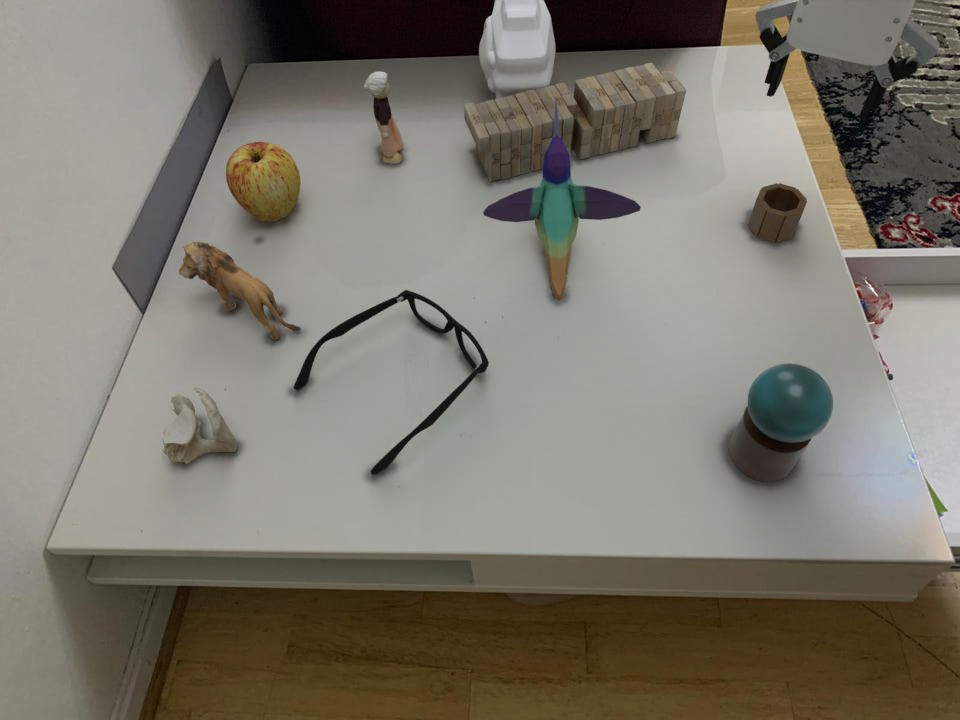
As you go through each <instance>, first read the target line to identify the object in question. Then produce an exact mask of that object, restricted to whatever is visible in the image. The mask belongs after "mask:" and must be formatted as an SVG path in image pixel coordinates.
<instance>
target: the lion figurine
mask: <svg viewBox="0 0 960 720" xmlns="http://www.w3.org/2000/svg"><path fill="white" fill-rule="evenodd" d="M182 248H183V250H184V254H185V256H184V257H183V259H182V261H183V263H182V265H181V267H180V268H179V269H178V274H179V275H180V276H182V277H184V278H186V279H188V280H193V279H194V278H196V277H198V279H199V280H201V281H205V282H206V284H207V285H208V286H210V287H212V288H214V289H215V290H216V292H217V293H218V295H219V297H220V298H221V299H222V300H223V301H224V302H225V303H224V306H223V309H224V311H225V312H231V311H233V310H235V309H236V307H237V305H236V301H235V300H234V299H233V298H232V297H231V295H233V296H235V297H236V298H238V299H240V300H243V301H245V303H246V305H247V307H248V309H249V310H250V311H251V313H252V315H253V316H254V317H255V318H256V320H257V321H258V322H259V323H260V324H262V325H263V326H264V327H265V328H266V329H268V331H269V332H270V333H269V338H270V340H272V341H277V340H279V338H280V337H281V333H280V331H279V329H278V328H277V327H276V325H274V324H273V323H272V322H271V321H270V320H269V318H268V317H267V315H266V314H265V308H264V306H266V308H267V309H268V311H269V312H270V314H271V315H272V317H273V318H274V319H275V320H276V321H277V322H278V323H279V324H280V325H282V326H283V327H284V328H287V329H289V330H290V331H292V332H296V333H297V332H298V333H299V332H300V331H302V328H301V327H299V326H297V325H295V324H293V323H292V324H291V323H289V322H286V321H285V320H283V318H282V317H281V316H280V315H281V314H282V312H283V309H282V308H281V306H279V305H278V304H277V301H276V299H275V295H274V292H273V291H272V290H271V288H270V287H269V286H268V285H267V284H266V283H265V282H264V281H262V280H261V279H259V278H257V277H254V276H253V275H251V274H250V273H249V272H248V271H246V270H245V269H243V268H241V267H240V266H238V265H237V264H236V262H235V260H234V258H233V257H232V256H231V255H230V254H228V253H227V252H225V251H223V250H221V249H219V248H218V247H216V246H214V245H210V243H208V242H203V241H195V242H194V241H191V242H190V243H188V244H185V245H182Z"/></svg>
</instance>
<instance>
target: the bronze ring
mask: <svg viewBox="0 0 960 720" xmlns="http://www.w3.org/2000/svg"><path fill="white" fill-rule="evenodd" d="M807 203H808V200H807V198H806V197H805V195H804V194H803V193H802V192H801V190H800V189H799V188H797V187H795V186H791V185H788V184H784V183H780V182H779V183H776V182H775V183H773V184H769V185H765V186H762V187H761V188H760V190H759V192H758V194H757V197H756V199H755V202H754V204H753V207H752V210H751V214H750V217H749V220H748V222H747V226H748V229H750V231H751V232H752V234H753V235H754V236H755V238H757V239H759V240H763V241H767V242H769V243H774V244H775V243H776V244H777V243H782V242H784V241H785V242H786V241H788V240H791V239H793V237H794V234H795V233H796V230H797V228H798V225H799V223H800V221H801V218H802V216H803V213H804V211H805V208H806V205H807Z"/></svg>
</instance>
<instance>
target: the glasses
mask: <svg viewBox="0 0 960 720" xmlns="http://www.w3.org/2000/svg"><path fill="white" fill-rule="evenodd" d="M416 300H417V301H421V302H424V303H425V304H427V305H429V306H431V307H432V308H434V309H435V310H437V311H438V312H439V313H440V314H442V315H443V317H445V319H446V321H447V322H446V323H445V325H444V328H441V327H439V326H436V325H435V324H433V323H431V322H430V321H428V320H427V319H425V318H424V317H423V316H421V314H420V313H419V312H418V310H417V306H416ZM405 301H407V302H408V305H409V307H410V310H411V312H412V314H413V315H414V317H415V318H416V319H417V320H418V321H419V322H420V323H422V324H423V325H424V326H425V327H427V328H428V329H431V331H434V332H436V333H438V334H442V335H445V334H448V333H450V332H451V331H453V330H454V334H455V338H456V342H457V344H458V347H459V349H460V351H461V353H462V355H463V356H464V358H465V359H466V361H467V362H468V364H469V366H471V367H472V369H474V370H473V371H472V372H471V373H470V374H469V375H468V376H467V378H465V379H464V380H463V381H462V382H461V383H460V384H459V385H458V386H457V387H456V388H455V389H454V390H453V391H452V392H451V393H450V394H448V396H447V397H446V398H445V399H443V400H442V402H441V403H440V404H439V405H437V407H436V408H435V409H433V410H432V412H431V413H430V414H428V415H427V417H426V418H424V420H422V421H421V422H420V423H419V424H418V425H417V426H416V427H415V428H414V429H413V430H412V431H411V432H409V433H408V434H407V435H406V436H405V437H403V438H402V439H401V440H400V441H399V442H398V443H397V444H395V445H394V446H393V447H392V448H391V449H390V450H389V451H388V452H387V453H386V454H385V455H384V456H383V457H382V458H381V459H379V461H378V462H376V463H375V465H374V466H373V467H372V468H371V470H370V474H371V475H372V476H374V475H375V476H376V475H377V474H379V473H381V472H383V471H385V470H386V469H387V468H388V467H389V466H390V465H391V464H392V463H393V462H394V461H395V459H396V458H397V457H398V456H399V455H400V454H401V452H402V450H404V448H405V447H406V446H407V444H408V443H409V442H410V441H411V440H412V439H413V438H414V437H416V436H417V435H418V434H420V433H422V432H423V431H424V430H426V429H428V428H429V427H431V426H432V425H434V424H435V423H436V422H437V421H438V419H439V418H440V417H441V416H442V415H443V414H444V413H445V412H446V411H447V410H448V409H449V408H450V407H451V406H452V404H453V403H454V402H455V401H456V400H457V398H458V397H459V396H460V395H461V394H462V393H463V392H464V391H465V389H467V387H468V386H469V385H470V384H471V383H472V382H473V380H474V379H475V378H476V377H477V376H478V374H484V373H485V372H487V369H488V367H489V365H490V364H489V363H490V362H489V360H488V357H487V356H486V353H485V351H484V350H483V347H482V346H481V344H480V343H479V341H478V340H477V339H476V337H475V336H474V335H473V333H472V332H470V331H469V329H467V328H466V327H465V326H464V325H462V324H461V323H459V322H458V321H457V319H455V318H454V317H453V316H452V315H451V314H450V313H448V311H447V310H445V309H444V308H443V307H442V306H440V305H439V304H438V303H437V302H436V301H433V300H432V299H430V298H428V297H426V296H424V295H422V294H420V293H416V292H414V291H411V290H407V289H405V290H403V291H402V292H400V293H399V294H397V296H394V297H391V298H388V299H386V300H384V301H382V302H380V303H378V304H376V305H373V306H372V307H370V308H368V309H366V310H363V311H362V312H359V313H357V314H355V315H353V316H352V317H350V318H347V319H346V320H344V321H343V322H342V323H340V324H338V325H337V326H335V327H334V328H332V329H331V330H329V331H328V332H326V333H325V334H324V335H323V336H322V337H321V338H320V339H318V341H317V342H316V343H315V344H314V345H313V346H312V348H311V349H310V351H309V352H308V354H307V355H306V357H305V359H304V361H303V364H302V366H301V369H300V370H299V374H298V376H297V378H296V380H295V382H294V384H293V389H294V390H295V391H299V390H302V389H303V388H304V387H305V386H306V385H307V383H308V381H309V379H310V375H311V371H312V369H313V366H314V363H315V359H316V357H317V354H318V353H319V350H320V348H321V347H322V346H323V345H324V344H325V343H326V342H328V341H330V340H333V339H336V338H340V337H343V336H344V335H345V334H347V333H348V332H349V331H351V330H352V329H354V328H356V327H357V326H359V325H361V324H363V323H364V322H367V321H368V320H370V319H371V318H373V317H375V316H376V315H378V314H380V313H382V312H384V311H385V310H387V309H389V308H391V307H392V306H394V305H396V304H398V303H399V302H400V303H403V302H405ZM463 333H464V335H465V336H466V337H467V338H468V339H469V340H470V341H471V343H472V344H473V345H474V347H475V349H476V350H477V352H478V354H479V356H480V360H481V362H480V363H479V365H478V364H477V363H476V361H474V359H473V358H472V356H471V355H470V354H469V352H468V350H467V348H466V346H465V342H464V339H463Z"/></svg>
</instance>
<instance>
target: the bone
mask: <svg viewBox="0 0 960 720" xmlns="http://www.w3.org/2000/svg"><path fill="white" fill-rule="evenodd" d="M193 389H194V390H195V392H196V393H197V395H198V396H199V398H200V401H201V403H202V405H203V406H204V408H205V410H206V415H207V418H208V420H209V423H210V425H211V428H212V435H213V438H212V439H205V438H202V436H201V427H202V422H201V421H200V420H199V418H198V415H197V414H196V409H195V405H194V403H193V401H192V400H191V399H190V398H188V397H187V396H183V395H181V394H180V393H177V394H175V395H173V396H172V397H171V403H172V406H173V409H172V412H174V414H175V415H177V417H176V419H175V421H174V422H173V423H170V424H168V425H166V426H165V427H164V430H163V437H162V442H163V445H164V446H163V449H162V451H161V452H162V453H163V454H164V455H165V456H166V457H168V460H169V463H170V464H175V463H185V465H188V464H189V463H191V462H192V461H194V460H195V459H197V458H198V457H200V456H202V455H205V454H210V453H236V452H237V449H238V445H237V440H236V438H235V435H234V433H233V432H232V431H231V429H230V427H229V426H228V425H227V423H226V421H225V419H224V417H223V415H222V414H221V412H220V411H219V407H218V406H217V403H216V401H215V400H214V399H213V397H212V396H211V395H210V394H209V393H208V392H207V391H205V389H203V388H202V387H197V386H194V388H193Z"/></svg>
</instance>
